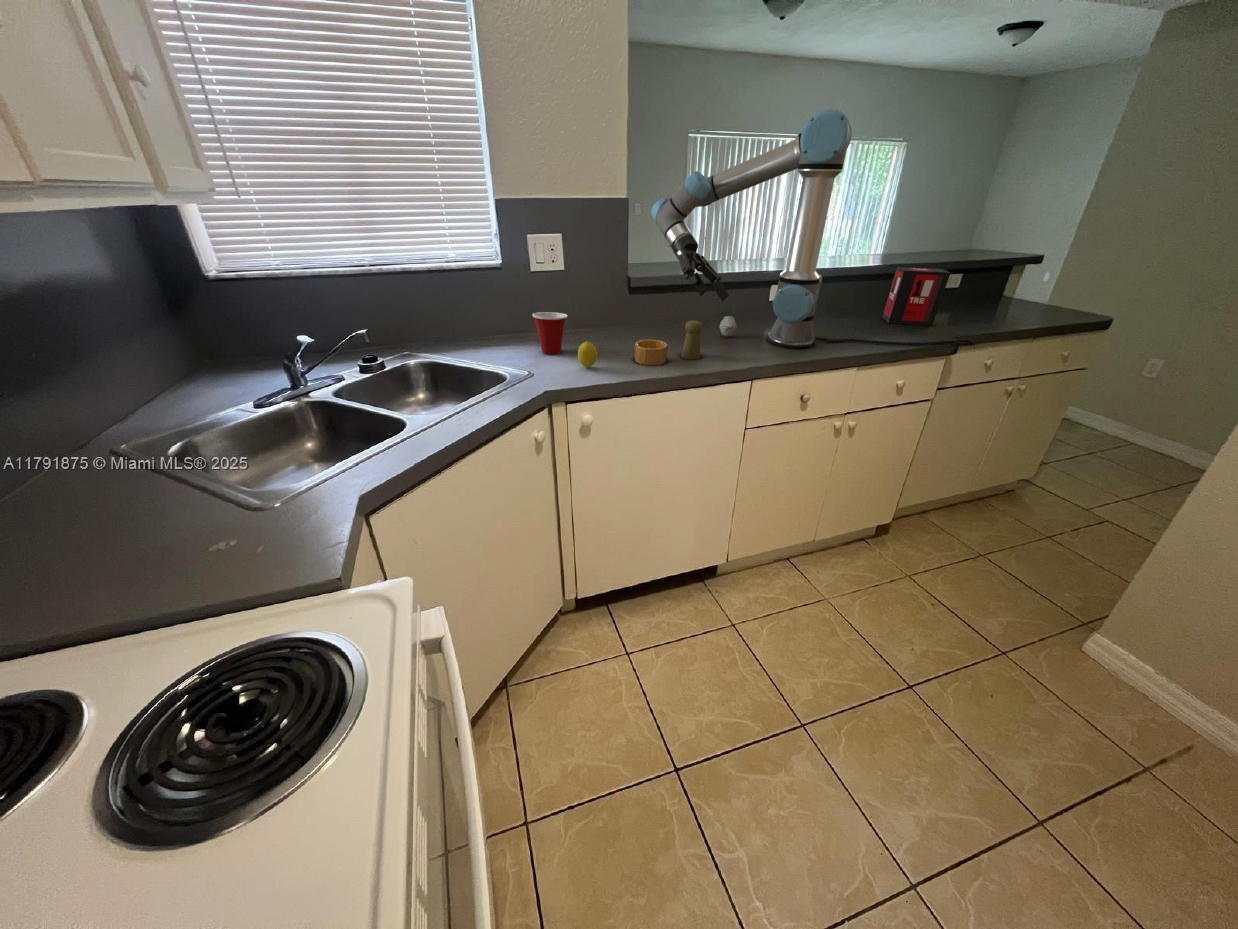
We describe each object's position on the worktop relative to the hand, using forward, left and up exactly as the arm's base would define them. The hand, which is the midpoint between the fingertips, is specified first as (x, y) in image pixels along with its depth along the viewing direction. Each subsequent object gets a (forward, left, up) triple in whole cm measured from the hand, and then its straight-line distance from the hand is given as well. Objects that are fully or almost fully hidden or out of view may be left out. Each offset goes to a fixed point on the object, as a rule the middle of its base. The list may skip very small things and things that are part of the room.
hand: (715, 295), depth 149 cm
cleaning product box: (-78, -62, -18) cm, 101 cm away
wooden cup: (+17, +13, -18) cm, 28 cm away
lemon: (+34, +25, -18) cm, 46 cm away
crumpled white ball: (-6, -20, -18) cm, 28 cm away
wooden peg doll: (+5, +6, -18) cm, 20 cm away
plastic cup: (+49, +13, -18) cm, 54 cm away
